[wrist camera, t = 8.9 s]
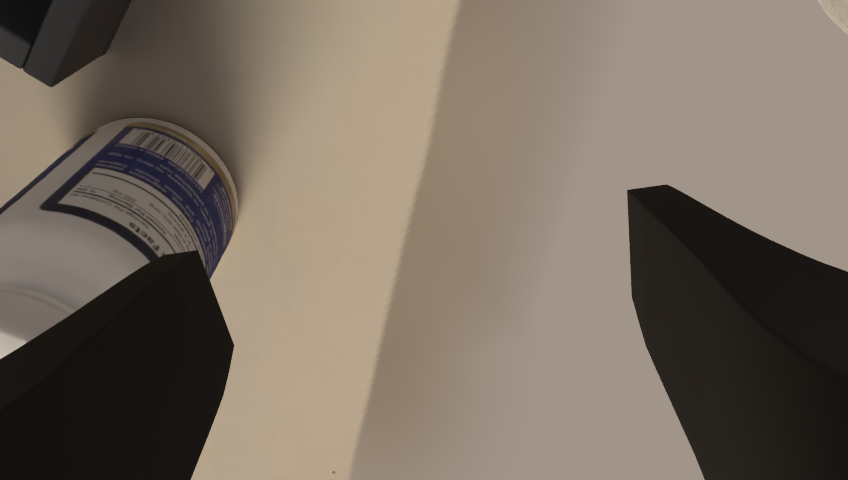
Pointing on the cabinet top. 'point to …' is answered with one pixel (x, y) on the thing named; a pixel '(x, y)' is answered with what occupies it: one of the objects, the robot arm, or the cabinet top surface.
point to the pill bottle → (108, 220)
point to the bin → (57, 34)
